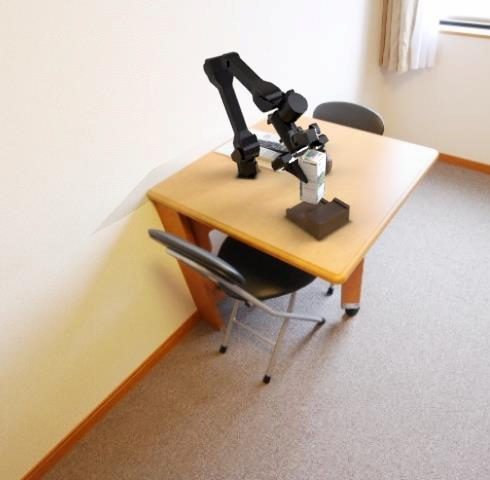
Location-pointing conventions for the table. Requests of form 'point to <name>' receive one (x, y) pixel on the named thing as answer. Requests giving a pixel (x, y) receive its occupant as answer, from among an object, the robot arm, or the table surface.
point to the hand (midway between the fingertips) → (315, 178)
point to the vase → (327, 162)
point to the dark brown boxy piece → (320, 216)
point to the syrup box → (312, 176)
